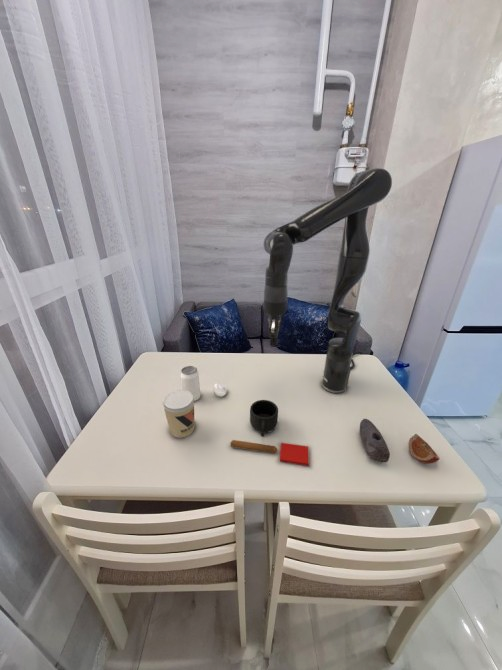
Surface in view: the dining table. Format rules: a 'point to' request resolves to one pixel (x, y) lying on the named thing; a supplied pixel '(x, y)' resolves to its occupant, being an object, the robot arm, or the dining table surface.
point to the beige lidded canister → (179, 413)
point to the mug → (263, 416)
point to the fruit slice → (422, 450)
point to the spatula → (287, 454)
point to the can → (191, 381)
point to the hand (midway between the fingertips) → (273, 345)
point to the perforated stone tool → (374, 442)
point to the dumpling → (219, 390)
